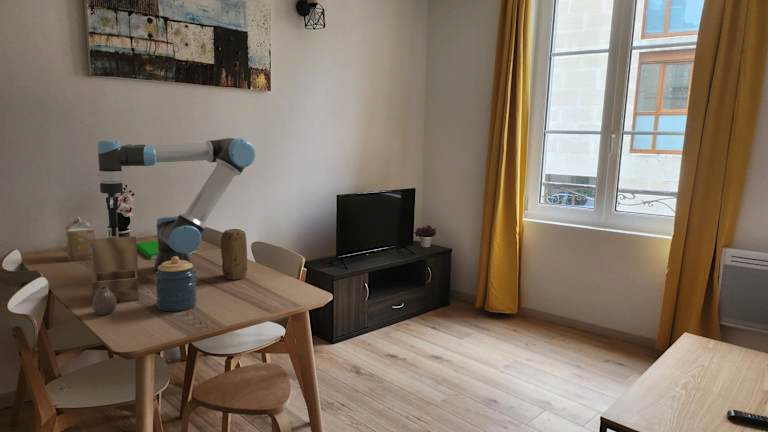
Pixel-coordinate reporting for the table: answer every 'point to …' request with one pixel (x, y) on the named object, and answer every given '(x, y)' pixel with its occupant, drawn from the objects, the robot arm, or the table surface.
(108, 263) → the lid
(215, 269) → the table surface
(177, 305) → the canister
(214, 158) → the robot arm
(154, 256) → the book
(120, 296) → the keepsake box
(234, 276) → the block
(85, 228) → the tan lidded jar
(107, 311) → the vase
